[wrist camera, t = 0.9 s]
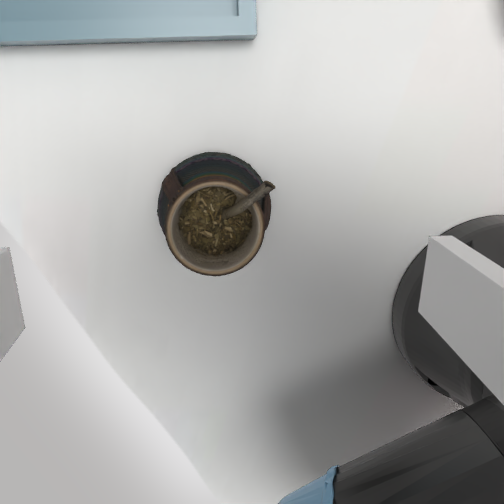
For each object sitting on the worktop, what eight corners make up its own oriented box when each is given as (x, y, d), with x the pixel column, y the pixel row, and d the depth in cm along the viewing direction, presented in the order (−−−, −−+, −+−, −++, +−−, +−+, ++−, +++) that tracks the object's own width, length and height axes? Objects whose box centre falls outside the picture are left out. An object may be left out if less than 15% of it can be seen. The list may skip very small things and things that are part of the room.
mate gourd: (142, 213, 32) (113, 260, 23) (200, 121, 30) (194, 131, 21) (227, 265, 34) (233, 329, 24) (286, 180, 32) (317, 214, 23)
